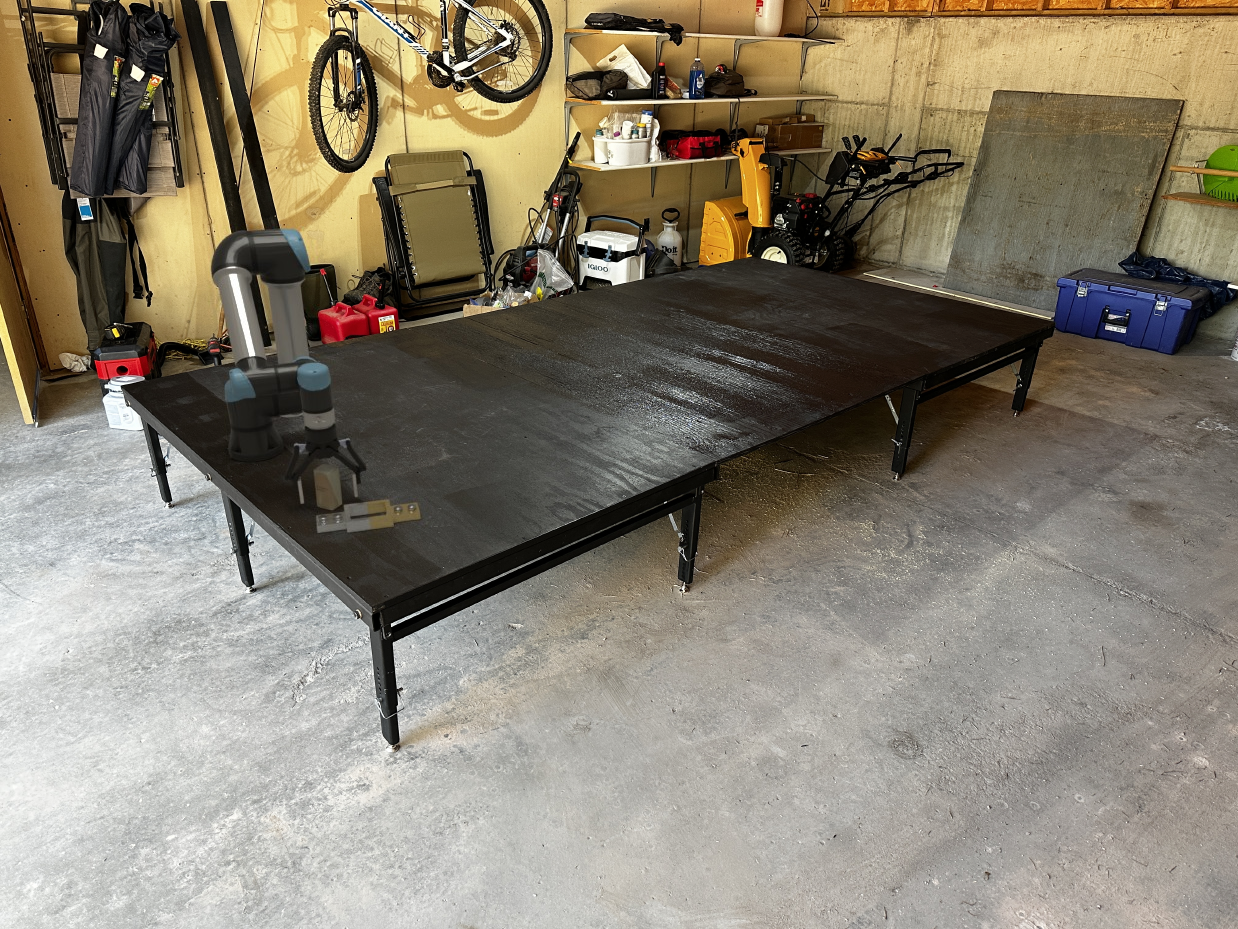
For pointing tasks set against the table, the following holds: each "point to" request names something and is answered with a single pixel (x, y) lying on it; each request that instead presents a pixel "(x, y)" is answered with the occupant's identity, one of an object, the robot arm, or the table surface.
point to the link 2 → (391, 513)
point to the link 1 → (344, 519)
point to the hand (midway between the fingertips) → (329, 498)
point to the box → (327, 487)
